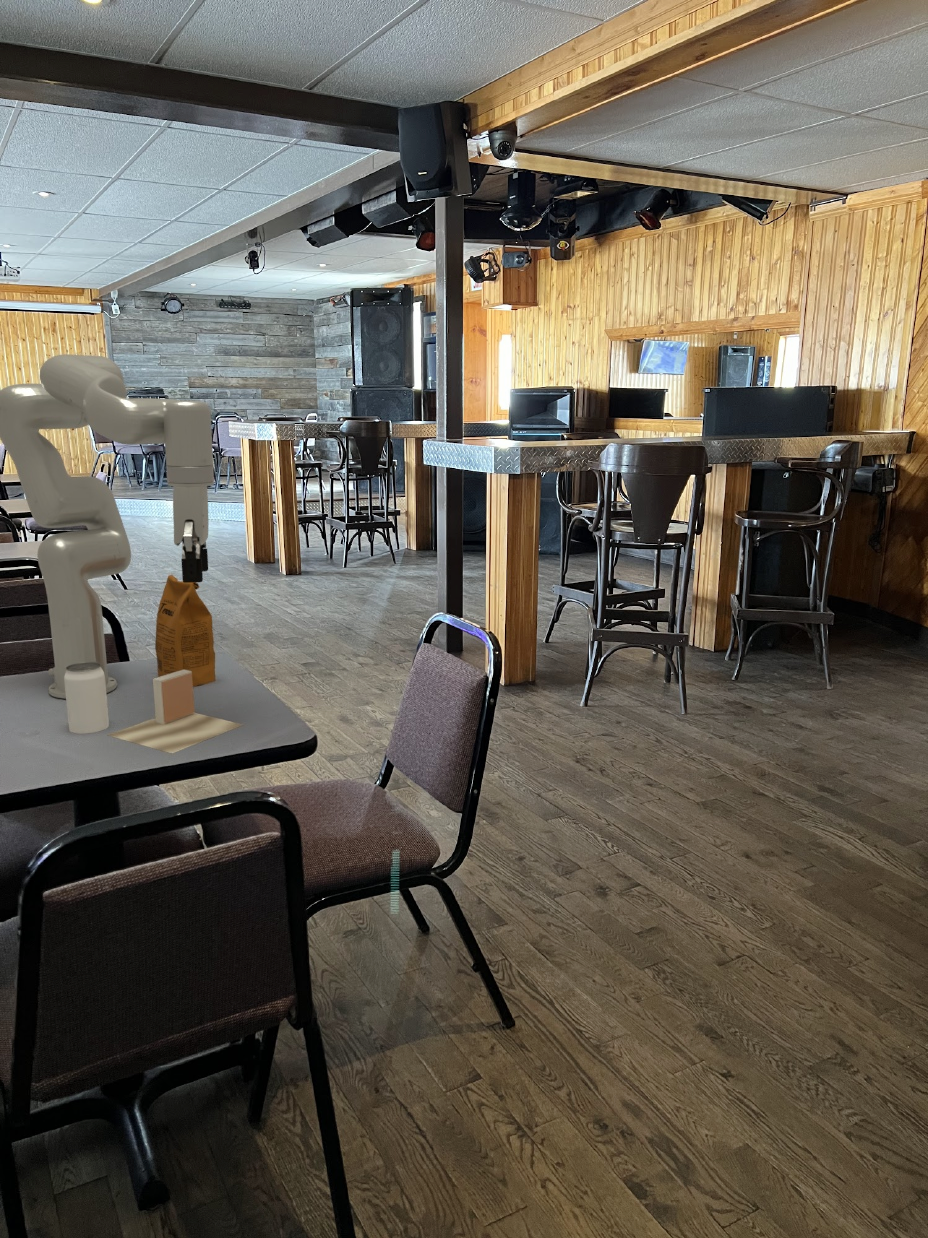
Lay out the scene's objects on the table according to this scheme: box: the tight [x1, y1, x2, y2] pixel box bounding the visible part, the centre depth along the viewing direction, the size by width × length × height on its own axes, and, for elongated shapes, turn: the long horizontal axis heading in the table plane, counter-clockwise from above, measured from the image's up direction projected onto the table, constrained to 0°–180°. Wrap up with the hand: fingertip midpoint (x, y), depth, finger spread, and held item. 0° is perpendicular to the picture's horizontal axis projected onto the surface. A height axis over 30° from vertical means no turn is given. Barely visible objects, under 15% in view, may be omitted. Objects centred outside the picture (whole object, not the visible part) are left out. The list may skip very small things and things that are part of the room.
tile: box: [152, 670, 196, 724], centre depth 164 cm, size 2×7×8 cm, turn 148°
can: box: [64, 662, 110, 735], centre depth 159 cm, size 6×6×12 cm
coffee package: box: [154, 574, 216, 688], centre depth 186 cm, size 10×12×22 cm
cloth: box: [107, 712, 244, 755], centre depth 159 cm, size 16×16×1 cm
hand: (195, 576), depth 158 cm, fingers open, 9 cm apart
